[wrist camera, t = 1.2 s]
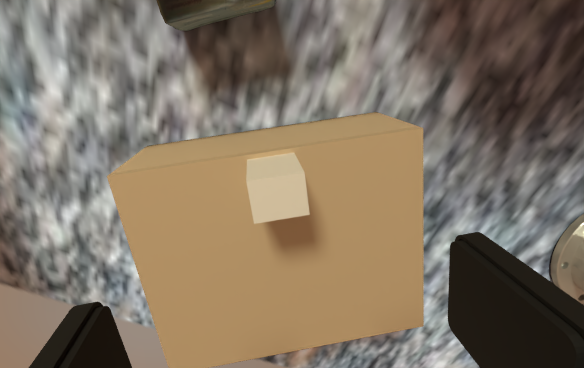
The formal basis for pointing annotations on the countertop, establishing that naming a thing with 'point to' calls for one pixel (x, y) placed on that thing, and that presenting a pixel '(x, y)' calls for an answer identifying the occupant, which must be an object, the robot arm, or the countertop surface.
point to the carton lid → (279, 246)
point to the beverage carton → (207, 11)
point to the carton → (262, 140)
